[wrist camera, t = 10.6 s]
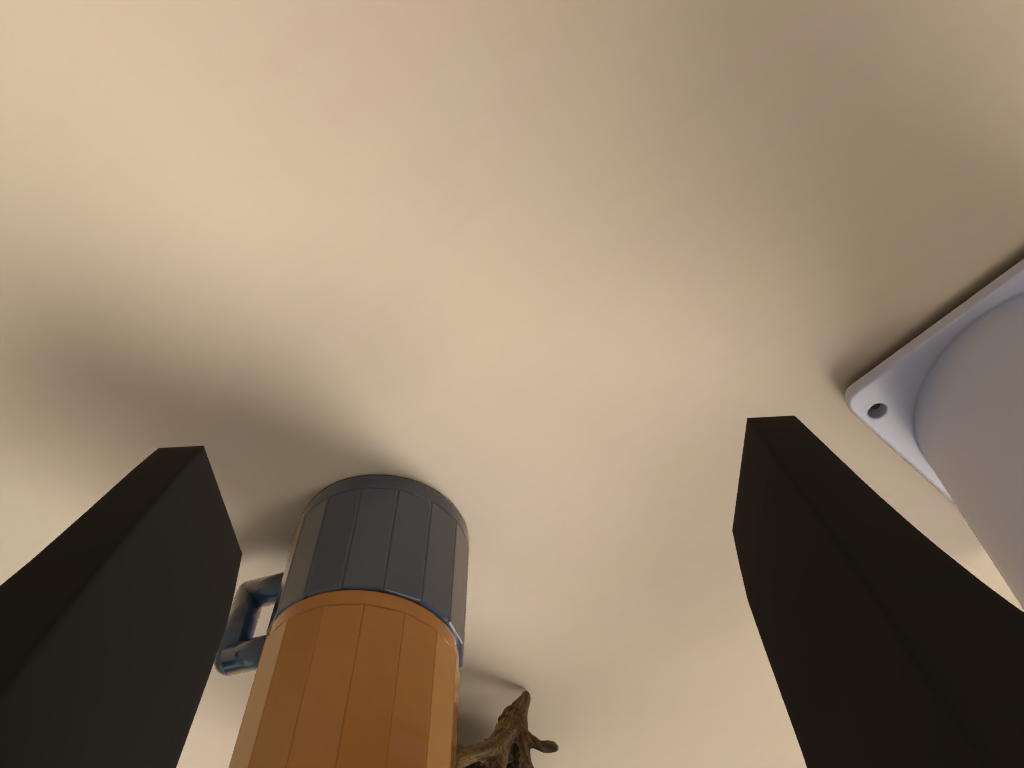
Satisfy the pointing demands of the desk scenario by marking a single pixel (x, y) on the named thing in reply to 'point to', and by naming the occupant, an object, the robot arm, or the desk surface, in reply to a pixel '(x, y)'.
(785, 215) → the desk surface
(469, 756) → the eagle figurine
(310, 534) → the cup
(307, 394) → the desk surface
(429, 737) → the orange tumbler
